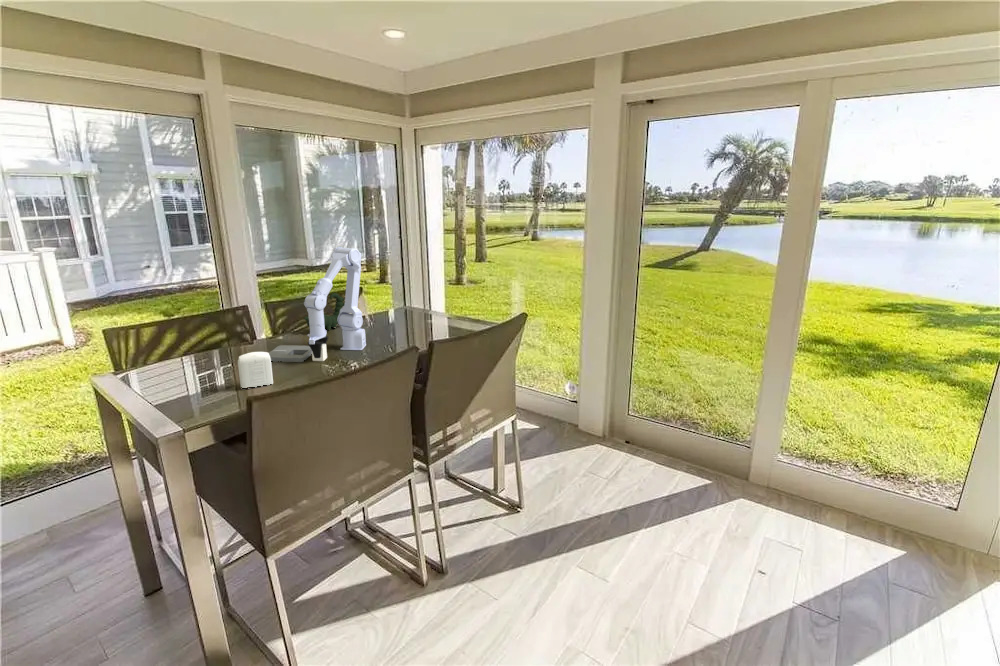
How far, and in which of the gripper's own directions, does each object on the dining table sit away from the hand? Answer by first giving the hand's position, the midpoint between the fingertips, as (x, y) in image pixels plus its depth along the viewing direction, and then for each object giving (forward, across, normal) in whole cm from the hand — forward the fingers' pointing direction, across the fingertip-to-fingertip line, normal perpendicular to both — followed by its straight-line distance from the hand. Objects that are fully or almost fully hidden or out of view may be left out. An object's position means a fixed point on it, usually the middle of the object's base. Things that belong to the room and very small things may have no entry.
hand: (319, 355), depth 190 cm
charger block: (+1, 0, 0) cm, 1 cm away
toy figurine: (+2, -44, -12) cm, 45 cm away
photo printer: (+2, +29, -12) cm, 31 cm away
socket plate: (+1, -4, -14) cm, 14 cm away
